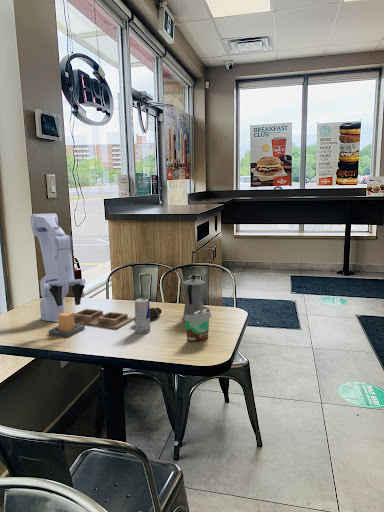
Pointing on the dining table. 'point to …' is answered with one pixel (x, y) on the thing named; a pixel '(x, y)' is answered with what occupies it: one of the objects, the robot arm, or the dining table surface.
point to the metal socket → (66, 334)
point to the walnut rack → (102, 318)
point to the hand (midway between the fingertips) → (68, 305)
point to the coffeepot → (193, 295)
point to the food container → (198, 325)
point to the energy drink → (142, 315)
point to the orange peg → (66, 321)
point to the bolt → (154, 313)
